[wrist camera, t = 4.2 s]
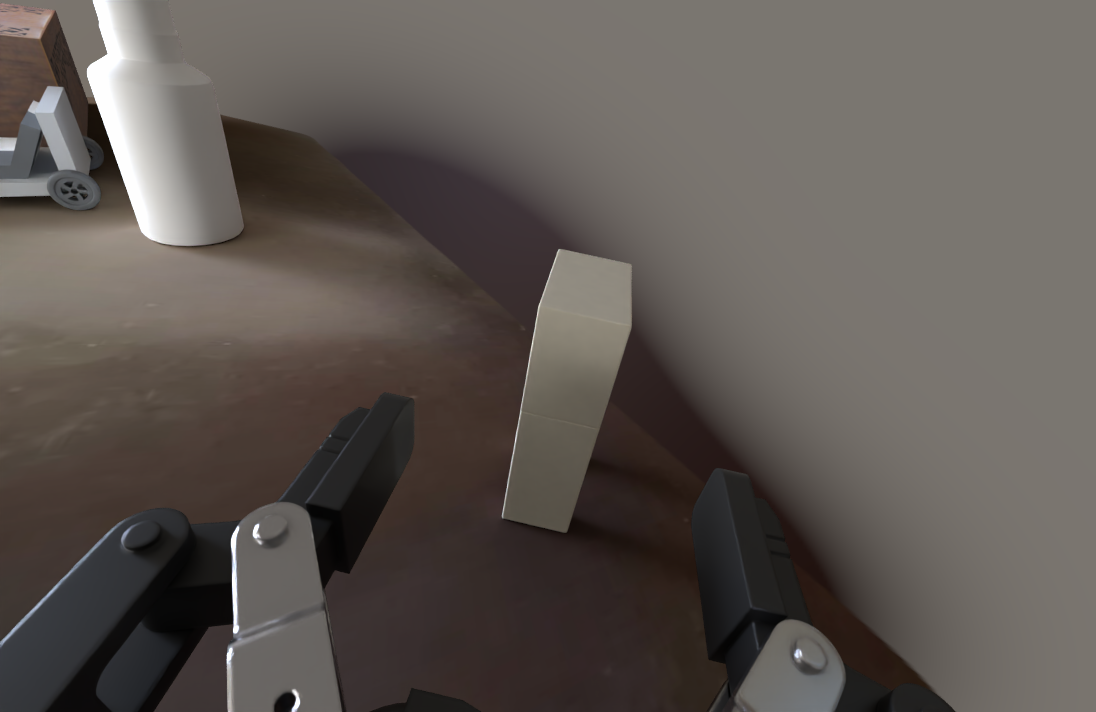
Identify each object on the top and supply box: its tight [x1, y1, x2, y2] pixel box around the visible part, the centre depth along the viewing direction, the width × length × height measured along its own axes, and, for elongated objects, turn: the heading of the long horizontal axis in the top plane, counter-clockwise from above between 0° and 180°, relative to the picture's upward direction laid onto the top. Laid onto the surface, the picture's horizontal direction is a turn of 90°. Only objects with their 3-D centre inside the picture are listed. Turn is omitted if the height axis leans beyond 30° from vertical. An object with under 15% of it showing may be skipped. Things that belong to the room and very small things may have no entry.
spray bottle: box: [87, 0, 244, 246], centre depth 33 cm, size 7×7×18 cm
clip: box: [502, 249, 632, 533], centre depth 20 cm, size 5×3×11 cm, turn 172°
